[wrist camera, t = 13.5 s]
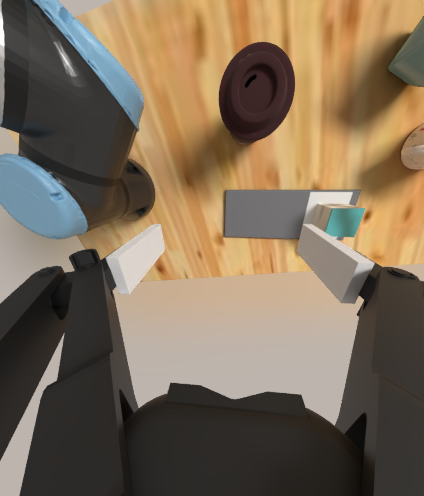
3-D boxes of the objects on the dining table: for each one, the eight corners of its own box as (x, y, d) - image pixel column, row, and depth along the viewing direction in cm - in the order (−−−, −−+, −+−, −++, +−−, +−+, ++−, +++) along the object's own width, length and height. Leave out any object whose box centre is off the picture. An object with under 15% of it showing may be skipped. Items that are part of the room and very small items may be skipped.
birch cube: (354, 237, 34) (337, 228, 39) (365, 208, 31) (345, 203, 36) (324, 236, 34) (311, 227, 40) (332, 208, 32) (318, 203, 37)
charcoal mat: (224, 235, 44) (224, 236, 43) (226, 189, 39) (226, 190, 38) (340, 238, 41) (342, 240, 40) (358, 189, 36) (361, 190, 35)
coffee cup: (270, 148, 34) (295, 131, 21) (224, 154, 36) (220, 142, 22) (272, 88, 30) (306, 19, 17) (221, 97, 32) (214, 41, 18)
